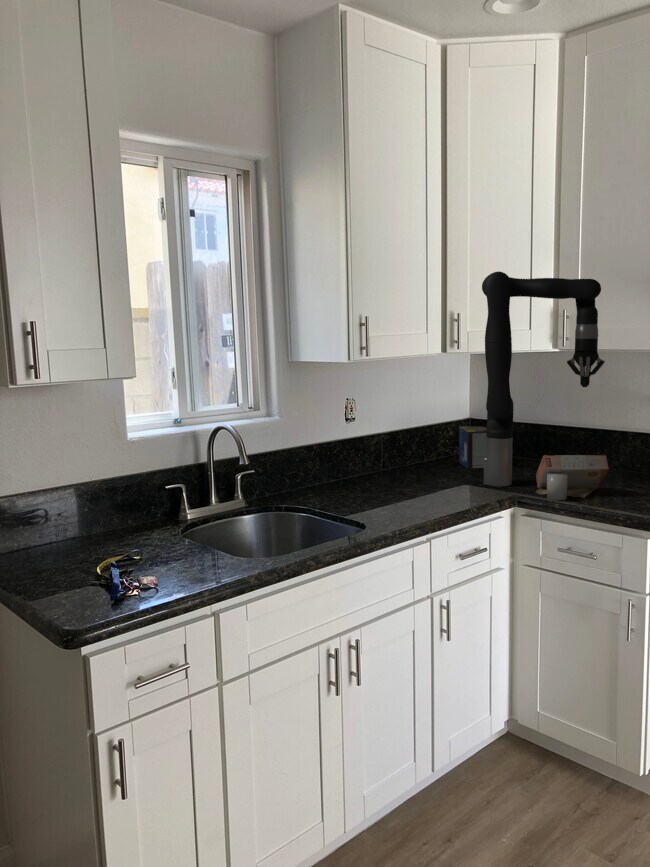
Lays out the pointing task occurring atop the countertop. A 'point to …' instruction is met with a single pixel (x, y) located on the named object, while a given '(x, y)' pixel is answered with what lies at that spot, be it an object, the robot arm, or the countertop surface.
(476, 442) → the protein box
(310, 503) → the countertop surface
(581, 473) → the cracker box
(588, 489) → the maple board
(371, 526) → the countertop surface
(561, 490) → the white rounded dome
